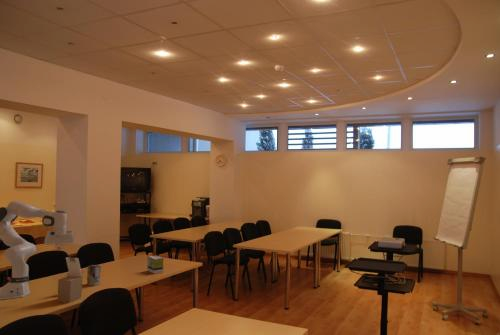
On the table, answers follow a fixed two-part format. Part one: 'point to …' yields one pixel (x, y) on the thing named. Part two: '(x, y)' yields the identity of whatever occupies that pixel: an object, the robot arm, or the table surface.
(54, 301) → the table surface
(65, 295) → the carton
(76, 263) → the flap
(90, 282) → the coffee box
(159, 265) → the tea box
